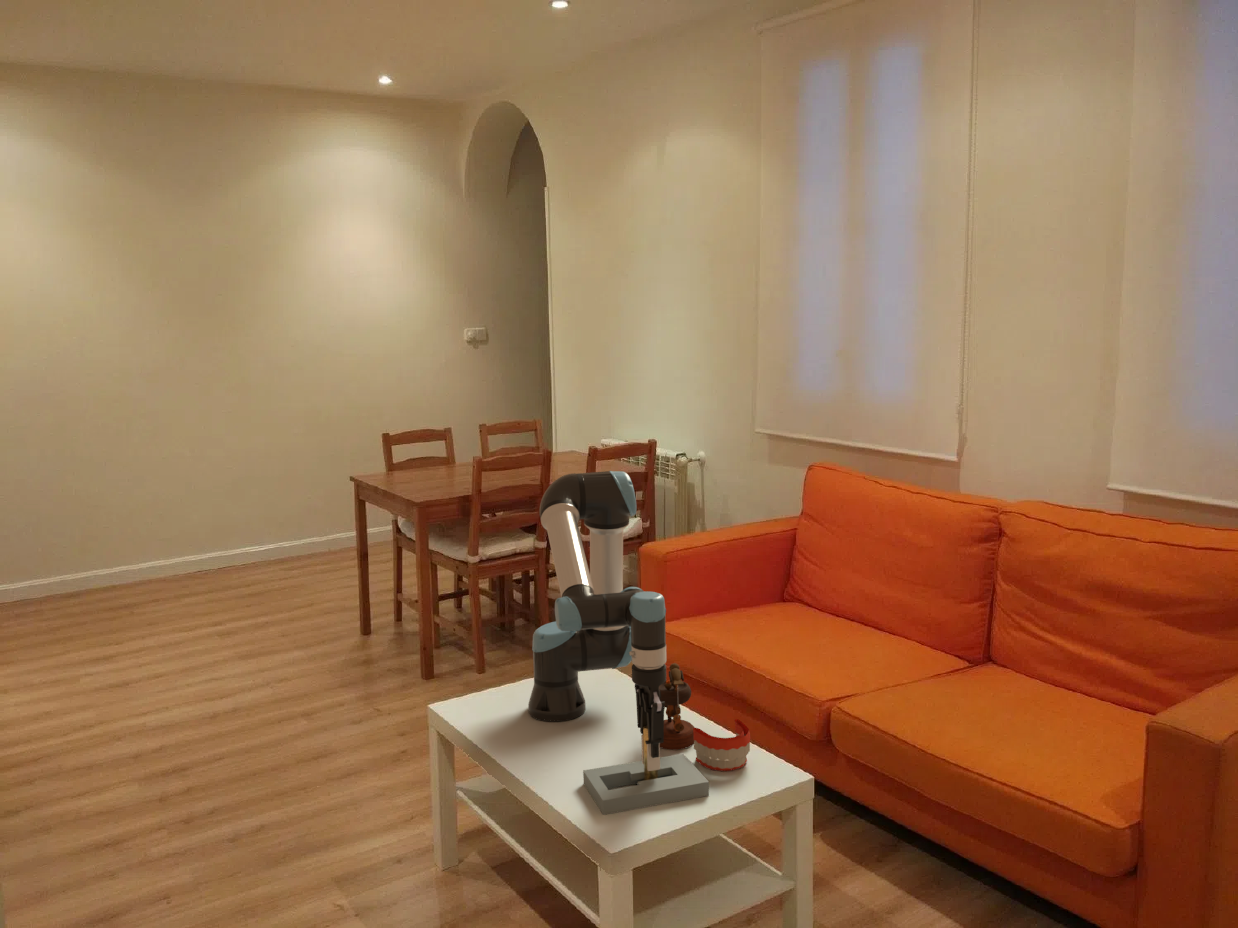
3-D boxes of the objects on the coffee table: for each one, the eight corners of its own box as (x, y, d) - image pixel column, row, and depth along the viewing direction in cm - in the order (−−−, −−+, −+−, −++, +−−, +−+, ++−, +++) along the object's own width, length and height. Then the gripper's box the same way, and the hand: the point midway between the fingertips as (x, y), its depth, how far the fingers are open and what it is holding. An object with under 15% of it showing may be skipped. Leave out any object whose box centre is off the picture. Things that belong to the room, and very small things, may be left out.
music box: (708, 746, 244) (700, 668, 241) (667, 759, 240) (659, 680, 237) (679, 723, 258) (672, 649, 255) (640, 735, 254) (632, 660, 250)
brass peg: (635, 784, 226) (633, 725, 223) (658, 780, 227) (657, 721, 225) (643, 795, 220) (642, 734, 218) (667, 791, 222) (666, 731, 220)
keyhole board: (583, 783, 227) (583, 770, 226) (683, 766, 234) (683, 753, 234) (603, 814, 213) (602, 800, 212) (708, 795, 220) (708, 781, 219)
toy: (713, 778, 228) (713, 745, 227) (692, 760, 237) (691, 728, 236) (761, 767, 233) (761, 734, 232) (738, 750, 242) (738, 718, 241)
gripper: (621, 654, 226) (623, 753, 229) (644, 678, 211) (646, 784, 214) (652, 650, 228) (654, 748, 232) (678, 673, 213) (679, 778, 217)
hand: (651, 765), depth 223 cm, fingers closed on brass peg, 3 cm apart
